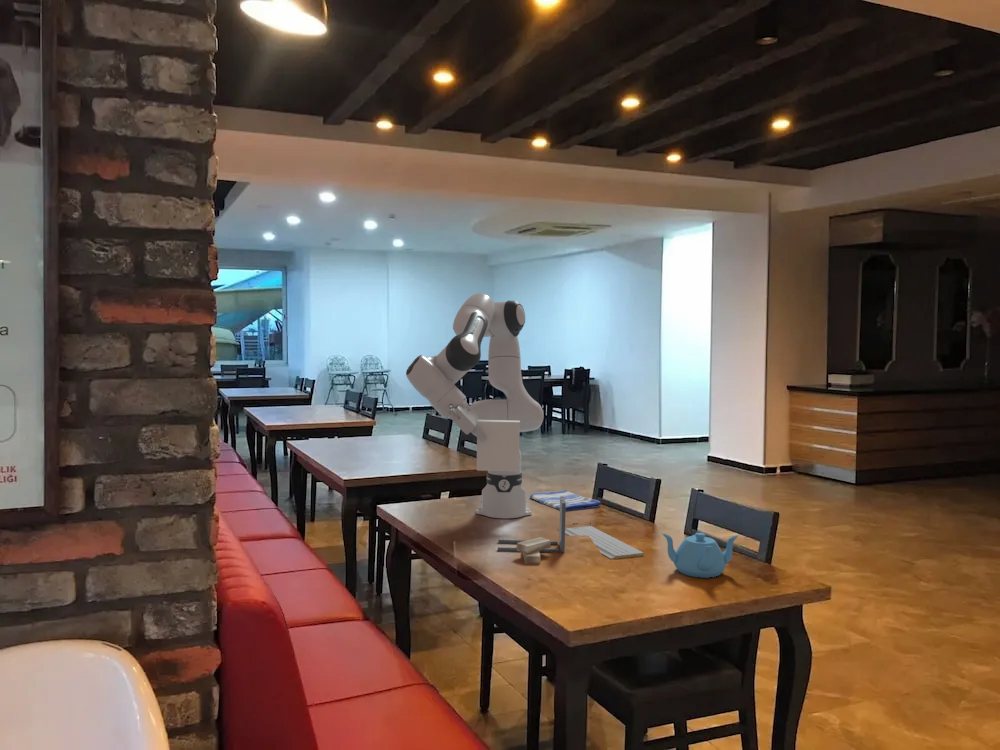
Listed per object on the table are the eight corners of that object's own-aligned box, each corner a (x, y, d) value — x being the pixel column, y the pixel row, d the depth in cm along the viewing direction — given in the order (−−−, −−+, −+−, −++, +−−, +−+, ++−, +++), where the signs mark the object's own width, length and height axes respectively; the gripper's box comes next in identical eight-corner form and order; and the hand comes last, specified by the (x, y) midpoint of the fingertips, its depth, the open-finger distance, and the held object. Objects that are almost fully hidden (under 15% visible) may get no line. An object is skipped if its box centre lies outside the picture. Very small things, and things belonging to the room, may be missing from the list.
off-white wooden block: (477, 467, 222) (478, 419, 222) (518, 468, 222) (519, 420, 221) (476, 470, 218) (477, 421, 218) (518, 471, 218) (519, 422, 217)
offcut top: (550, 547, 211) (550, 540, 211) (527, 553, 205) (527, 546, 204) (540, 544, 214) (540, 537, 213) (516, 550, 208) (517, 543, 207)
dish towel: (566, 495, 296) (566, 488, 296) (603, 508, 275) (603, 500, 275) (527, 499, 288) (527, 492, 287) (562, 513, 267) (562, 505, 267)
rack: (498, 546, 222) (499, 495, 221) (562, 548, 222) (563, 496, 221) (497, 555, 213) (498, 501, 212) (564, 556, 213) (565, 503, 212)
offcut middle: (537, 552, 212) (537, 545, 212) (540, 563, 203) (540, 556, 202) (522, 552, 212) (522, 545, 212) (525, 563, 202) (525, 556, 202)
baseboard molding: (606, 562, 211) (643, 558, 215) (606, 551, 211) (644, 548, 215) (556, 533, 240) (590, 530, 244) (556, 524, 240) (591, 521, 244)
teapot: (692, 560, 212) (693, 523, 211) (741, 573, 201) (742, 534, 200) (659, 571, 202) (660, 532, 202) (709, 585, 191) (711, 544, 190)
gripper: (456, 399, 209) (491, 435, 209) (461, 393, 229) (493, 426, 230) (439, 415, 209) (474, 451, 210) (446, 407, 230) (478, 440, 230)
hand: (484, 438), depth 220 cm, fingers closed on off-white wooden block, 4 cm apart
